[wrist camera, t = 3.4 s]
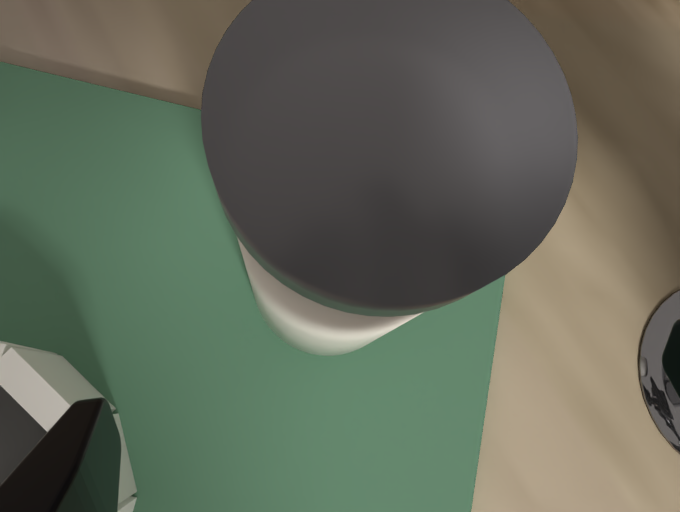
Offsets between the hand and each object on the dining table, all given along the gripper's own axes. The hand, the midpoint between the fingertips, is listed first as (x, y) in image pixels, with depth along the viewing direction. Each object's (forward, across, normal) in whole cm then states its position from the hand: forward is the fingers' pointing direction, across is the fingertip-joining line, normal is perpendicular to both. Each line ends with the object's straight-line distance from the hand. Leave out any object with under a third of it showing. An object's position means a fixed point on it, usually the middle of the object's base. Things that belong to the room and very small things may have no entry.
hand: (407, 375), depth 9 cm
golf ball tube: (+10, 0, +5) cm, 11 cm away
